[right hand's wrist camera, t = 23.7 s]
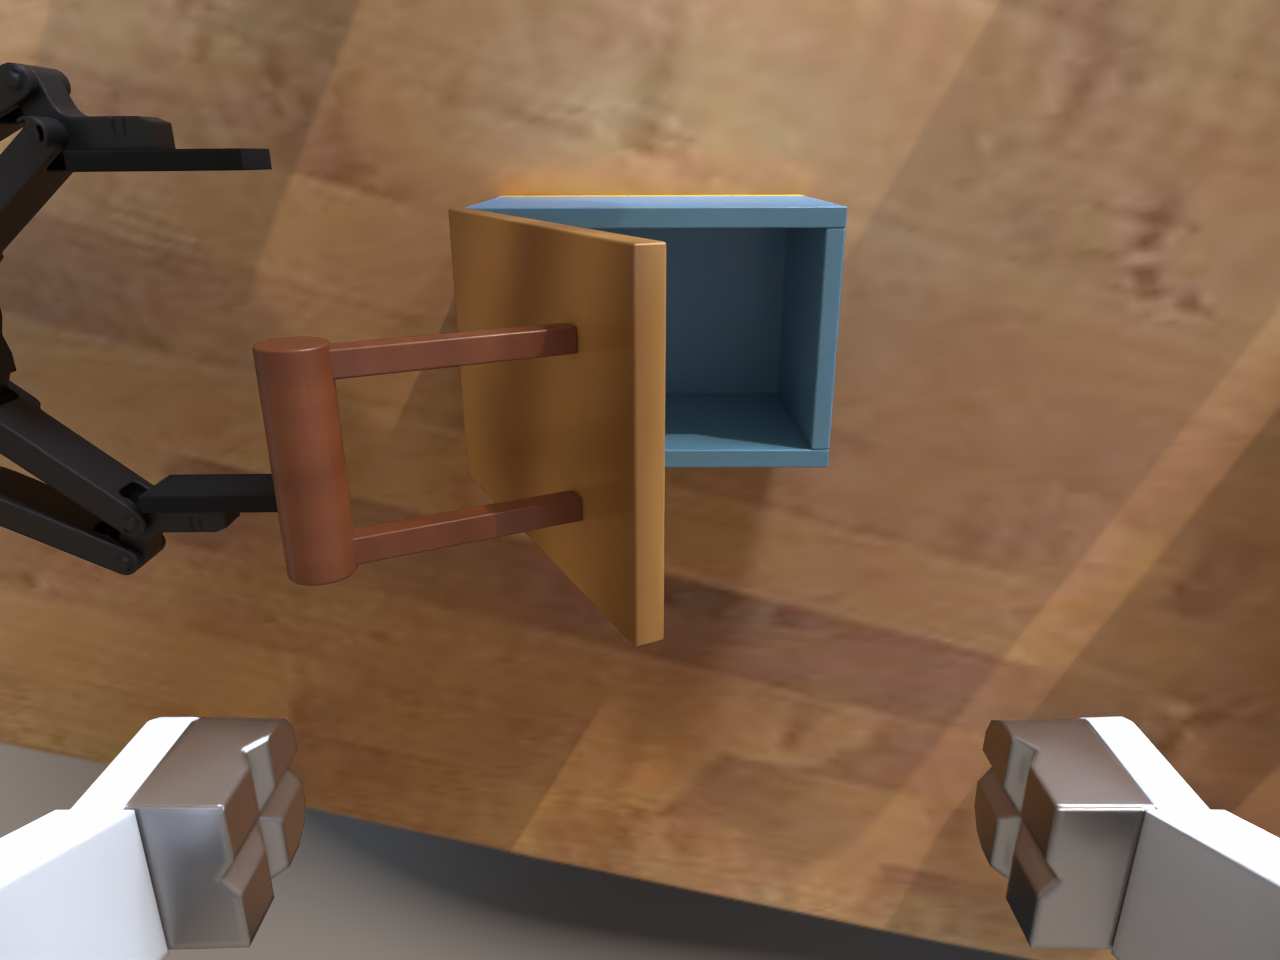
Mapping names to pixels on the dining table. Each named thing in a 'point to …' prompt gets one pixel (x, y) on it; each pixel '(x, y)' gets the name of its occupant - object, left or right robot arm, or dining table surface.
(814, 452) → the chest
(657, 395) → the lid
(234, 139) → the dining table surface
